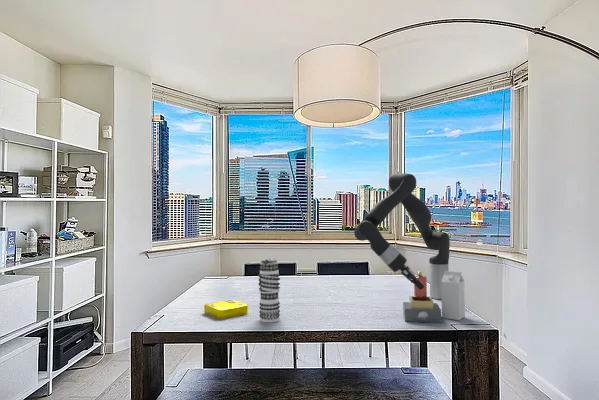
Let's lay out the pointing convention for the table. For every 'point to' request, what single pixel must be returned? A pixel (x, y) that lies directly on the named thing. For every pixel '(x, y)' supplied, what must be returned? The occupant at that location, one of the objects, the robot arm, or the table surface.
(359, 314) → the table surface
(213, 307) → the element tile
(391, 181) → the robot arm
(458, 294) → the milk carton
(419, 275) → the red bottle
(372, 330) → the table surface
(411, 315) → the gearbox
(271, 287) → the decorative candle
